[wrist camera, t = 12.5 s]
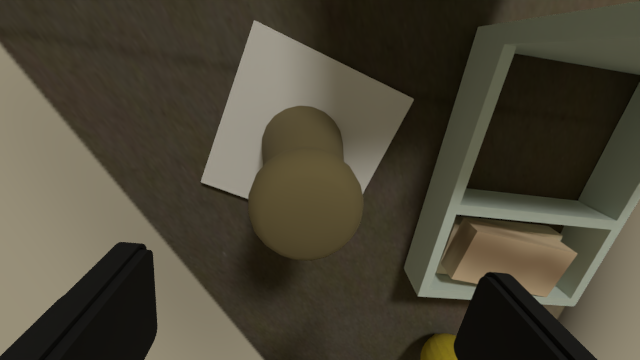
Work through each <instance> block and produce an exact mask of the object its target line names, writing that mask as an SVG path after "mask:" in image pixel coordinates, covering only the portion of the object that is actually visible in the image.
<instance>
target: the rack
mask: <svg viewBox="0 0 640 360" xmlns="http://www.w3.org/2000/svg"><path fill="white" fill-rule="evenodd" d="M514 53H515V54H521V55H527V56H533V57H539V58H544V59H550V60H556V61H562V62H567V63H573V64H579V65H585V66H591V67H596V68H602V69H608V70H614V71H619V72H625V73H631V74H637V75H640V1H639V2H632V3H626V4H620V5H613V6H607V7H600V8H594V9H588V10H581V11H575V12H569V13H562V14H556V15H550V16H543V17H537V18H531V19H524V20H518V21H512V22H505V23H499V24H493V25H486V26H480V27H478V28H477V32H476V35H475V38H474V41H473V45H472V48H471V51H470V54H469V58H468V61H467V64H466V67H465V71H464V74H463V77H462V80H461V84H460V87H459V90H458V93H457V97H456V100H455V103H454V106H453V110H452V113H451V116H450V119H449V123H448V126H447V129H446V132H445V136H444V139H443V142H442V145H441V149H440V152H439V155H438V158H437V162H436V165H435V168H434V171H433V175H432V178H431V181H430V184H429V188H428V191H427V194H426V197H425V201H424V204H423V207H422V210H421V214H420V217H419V220H418V223H417V227H416V230H415V233H414V236H413V240H412V243H411V246H410V249H409V253H408V256H407V259H406V262H405V266H404V270H405V272H406V274H407V276H408V278H409V280H410V282H411V284H412V286H413V288H414V290H415V292H416V294H417V296H419V297H435V298H451V299H467V300H471V299H472V296H473V294H474V291H475V289H476V286H477V284H475V283H470V282H465V281H460V280H454V279H451V278H450V276H449V275H448V274H439V273H436V270H437V267H438V264H439V262H440V259H441V256H442V253H443V250H444V248H445V245H446V242H447V239H448V237H449V234H450V231H451V228H452V225H453V223H454V220H455V217H456V214H457V215H467V216H477V217H487V218H497V219H507V220H517V221H528V222H538V223H548V224H558V225H565V226H564V228H563V230H562V232H561V233H560V234H561V235H562V236H563V237H562V239H561V241H560V242H562V243H563V244H565V245H566V246H568V247H569V248H570V249H572V250H573V251H575V252H576V253H577V256H576V257H575V258H574V260H573V261H572V263H571V264H570V265H569V267H568V268H567V270H566V271H565V272H564V274H563V275H562V277H561V278H560V279H559V281H558V282H557V284H556V285H555V286H554V288H553V289H552V291H551V292H550V293H549V295H548V296H547V297H543V296H538V295H533V294H531V295H532V296H533V297H534V298H535V299H536V300H537V301H538V302H539V303H540V304H546V305H562V306H575V305H576V303H577V301H578V300H579V298H580V297H581V295H582V293H583V292H584V290H585V288H586V286H587V285H588V283H589V282H590V280H591V278H592V277H593V275H594V273H595V272H596V270H597V268H598V267H599V265H600V264H601V262H602V260H603V259H604V257H605V255H606V254H607V252H608V250H609V249H610V247H611V246H612V244H613V242H614V241H615V239H616V237H617V236H618V234H619V232H620V231H621V229H622V227H623V226H624V224H625V222H626V221H627V219H628V218H629V216H630V214H631V213H632V211H633V209H634V208H635V206H636V204H637V202H638V201H639V199H640V82H639V84H638V86H637V88H636V90H635V92H634V94H633V95H632V97H631V99H630V101H629V103H628V105H627V107H626V109H625V111H624V113H623V115H622V117H621V118H620V120H619V122H618V124H617V126H616V128H615V130H614V132H613V134H612V136H611V138H610V140H609V141H608V143H607V145H606V147H605V149H604V151H603V153H602V155H601V157H600V159H599V161H598V163H597V164H596V166H595V168H594V170H593V172H592V174H591V176H590V178H589V180H588V182H587V184H586V186H585V187H584V189H583V191H582V193H581V195H580V197H579V199H578V201H576V200H567V199H558V198H549V197H540V196H531V195H522V194H513V193H504V192H495V191H486V190H477V189H468V188H466V186H467V184H468V181H469V178H470V175H471V173H472V170H473V167H474V164H475V161H476V159H477V156H478V153H479V150H480V148H481V145H482V142H483V139H484V136H485V134H486V131H487V128H488V125H489V122H490V120H491V117H492V114H493V111H494V109H495V106H496V103H497V100H498V97H499V95H500V92H501V89H502V86H503V84H504V81H505V78H506V75H507V72H508V70H509V67H510V64H511V61H512V58H513V56H514Z"/></svg>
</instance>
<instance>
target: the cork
mask: <svg viewBox="0 0 640 360" xmlns="http://www.w3.org/2000/svg"><path fill="white" fill-rule="evenodd" d="M262 160H263V167H262V168H261V169H260V170H259V172H258V173H257V174H256V176H255V179H254V182H253V184H252V187H251V189H250V192H249V195H248V213H249V218H250V221H251V223H252V226H253V229H254V231H255V233H256V234H257V236H258V237H259V238H260V239H261V241H262V242H263V243H264V244H265V245H266V246H267V247H269V248H270V249H272V250H273V251H275V252H276V253H278V254H279V255H281V256H284V257H287V258H291V259H294V260H310V261H311V260H316V259H320V258H324V257H327V256H329V255H331V254H333V253H335V252H337V251H338V250H340V249H341V248H342V247H343V246H344V245H345V244H346V243H347V242H348V241H349V240H350V239H351V238H352V237H353V236H354V234H355V232H356V230H357V229H358V227H359V225H360V223H361V218H362V212H363V204H364V200H363V195H362V189H361V185H360V183H359V181H358V179H357V178H356V176H355V174H354V173H353V171H352V169H351V168H350V166H349V165H348V164H346V163H345V162H344V154H343V141H342V136H341V131H340V130H339V128H338V126H337V124H336V123H335V121H334V120H333V119H332V118H331V117H330V116H329V115H327V114H326V113H325V112H324V111H321V110H319V109H317V108H314V107H310V106H295V107H291V108H287V109H285V110H283V111H281V112H280V113H278V114H277V115H275V116H274V117H273V118H272V120H271V121H270V122H269V123H268V124H267V126H266V128H265V131H264V134H263V136H262Z"/></svg>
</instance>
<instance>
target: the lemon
mask: <svg viewBox="0 0 640 360" xmlns="http://www.w3.org/2000/svg"><path fill="white" fill-rule="evenodd" d="M455 338H456V336H455V335H451V334H447V333H442V334H434V335H433V336H432V337H431V338H429V339H428V340H427V341H426V343H425V344H424V346H423V348H422V351H421V356H420V360H458V359H457V357H456V355H455V352H454V341H455Z"/></svg>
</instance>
